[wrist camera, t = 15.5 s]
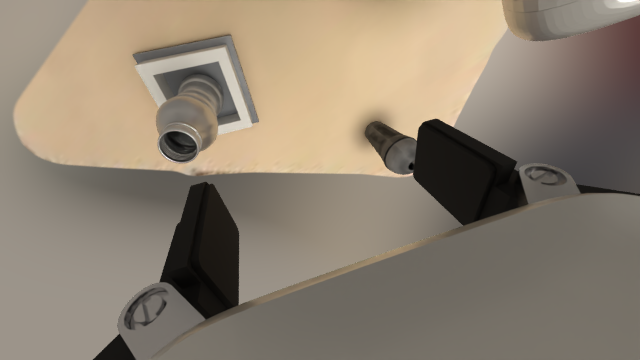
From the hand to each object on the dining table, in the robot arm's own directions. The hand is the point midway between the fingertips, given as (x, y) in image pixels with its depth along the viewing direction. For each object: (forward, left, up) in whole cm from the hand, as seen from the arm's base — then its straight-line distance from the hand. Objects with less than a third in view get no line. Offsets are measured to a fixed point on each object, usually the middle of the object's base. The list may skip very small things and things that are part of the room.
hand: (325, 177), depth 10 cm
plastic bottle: (+3, -11, -35) cm, 37 cm away
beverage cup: (+19, +20, -36) cm, 46 cm away
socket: (+3, -11, -36) cm, 38 cm away
